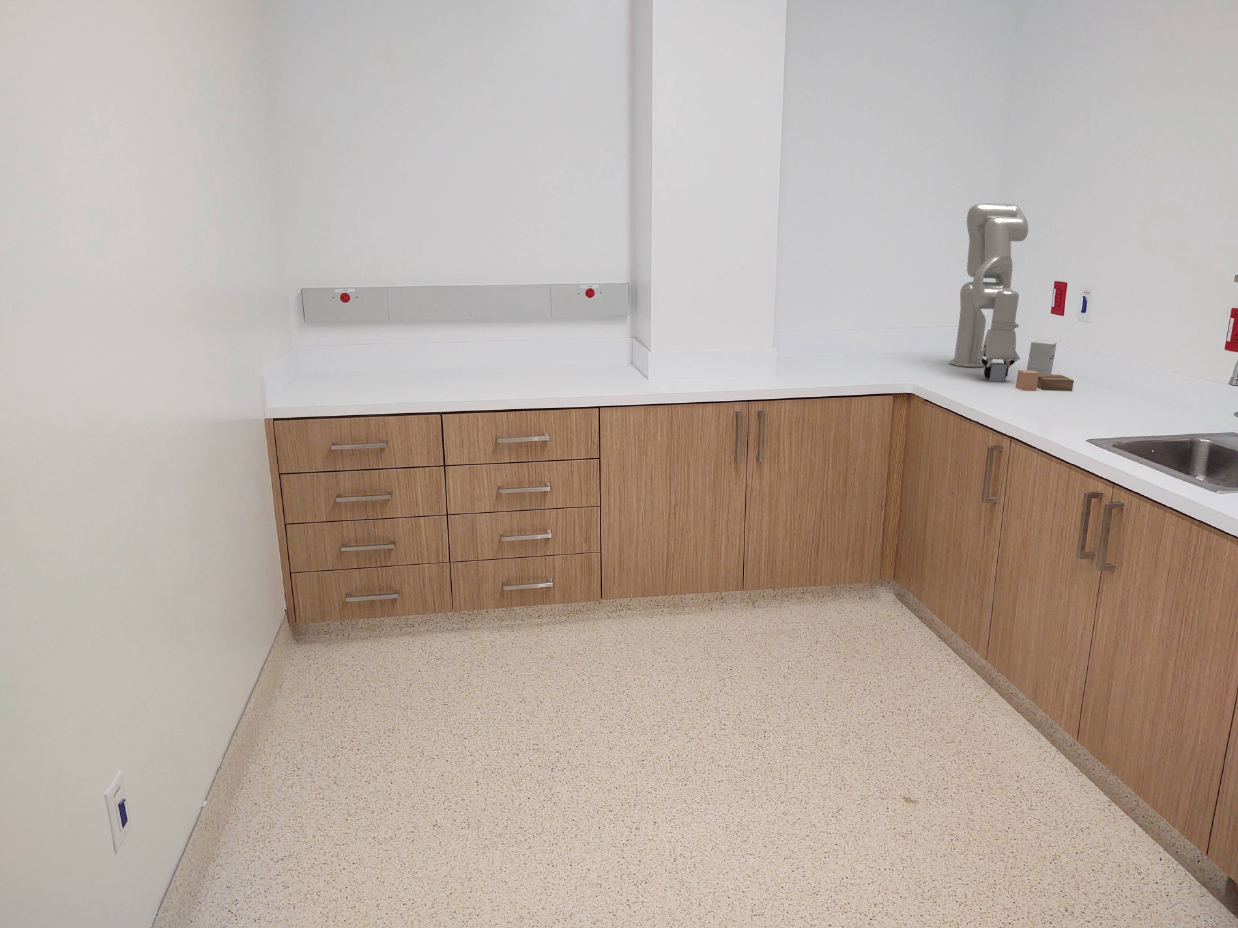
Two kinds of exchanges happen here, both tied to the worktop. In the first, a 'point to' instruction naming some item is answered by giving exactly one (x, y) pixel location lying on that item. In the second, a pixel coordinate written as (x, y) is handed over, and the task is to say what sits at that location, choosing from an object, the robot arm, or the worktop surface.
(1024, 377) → the terracotta block
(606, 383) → the worktop surface
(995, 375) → the grey block
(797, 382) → the worktop surface
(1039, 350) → the supplement box
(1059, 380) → the walnut base
